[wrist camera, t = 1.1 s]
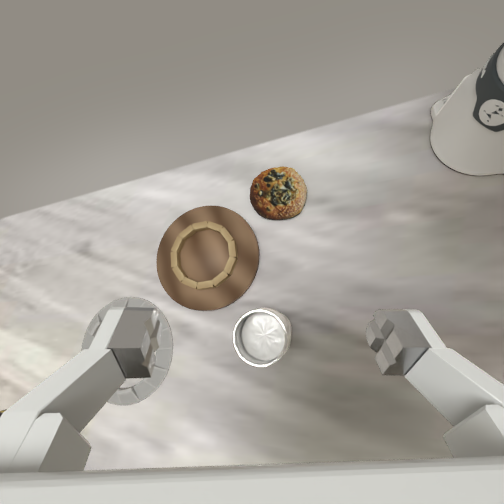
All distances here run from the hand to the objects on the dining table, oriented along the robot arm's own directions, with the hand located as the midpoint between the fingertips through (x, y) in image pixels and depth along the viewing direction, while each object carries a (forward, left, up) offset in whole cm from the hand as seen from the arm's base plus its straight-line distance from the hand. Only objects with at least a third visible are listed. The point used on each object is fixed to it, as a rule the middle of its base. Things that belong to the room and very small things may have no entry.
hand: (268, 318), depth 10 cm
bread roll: (-11, -19, -37) cm, 43 cm away
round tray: (+7, -18, -36) cm, 41 cm away
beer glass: (+5, 0, -37) cm, 37 cm away
